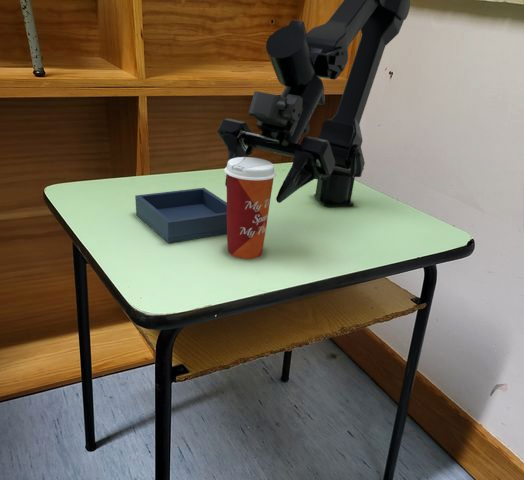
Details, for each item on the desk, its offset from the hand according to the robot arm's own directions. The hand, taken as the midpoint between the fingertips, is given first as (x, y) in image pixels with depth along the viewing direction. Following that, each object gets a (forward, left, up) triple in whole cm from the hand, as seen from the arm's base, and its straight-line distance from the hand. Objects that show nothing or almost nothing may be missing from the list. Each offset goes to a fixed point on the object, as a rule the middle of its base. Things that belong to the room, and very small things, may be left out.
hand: (251, 193), depth 81 cm
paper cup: (+1, +1, -9) cm, 9 cm away
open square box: (+8, -12, -9) cm, 17 cm away
